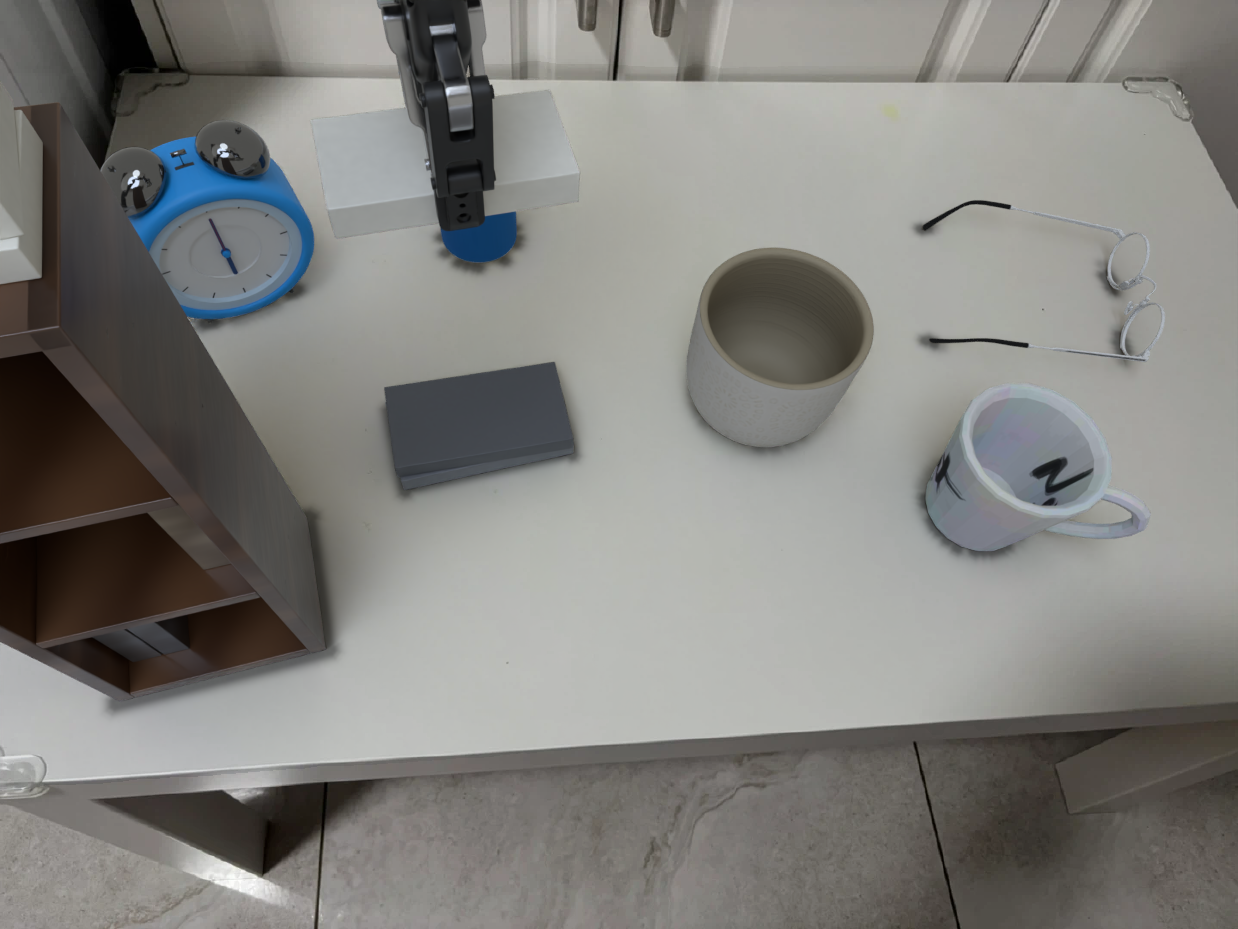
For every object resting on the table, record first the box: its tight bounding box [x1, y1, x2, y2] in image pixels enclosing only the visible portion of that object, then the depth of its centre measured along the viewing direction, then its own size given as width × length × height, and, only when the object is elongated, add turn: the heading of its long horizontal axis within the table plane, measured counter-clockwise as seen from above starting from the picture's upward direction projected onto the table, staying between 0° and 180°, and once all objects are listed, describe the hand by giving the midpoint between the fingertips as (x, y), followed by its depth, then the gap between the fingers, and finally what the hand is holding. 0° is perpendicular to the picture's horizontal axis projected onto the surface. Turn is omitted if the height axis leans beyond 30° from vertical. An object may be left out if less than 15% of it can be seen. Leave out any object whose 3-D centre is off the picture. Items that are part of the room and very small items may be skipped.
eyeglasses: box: [922, 199, 1166, 363], centre depth 75 cm, size 16×19×5 cm
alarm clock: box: [99, 119, 315, 324], centre depth 64 cm, size 13×6×15 cm, turn 120°
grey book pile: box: [383, 361, 575, 491], centre depth 65 cm, size 13×8×3 cm, turn 106°
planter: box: [685, 247, 875, 448], centre depth 65 cm, size 12×12×11 cm
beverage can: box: [439, 211, 518, 264], centre depth 70 cm, size 6×6×12 cm
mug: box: [925, 382, 1152, 552], centre depth 62 cm, size 10×15×10 cm
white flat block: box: [310, 89, 581, 240], centre depth 42 cm, size 12×6×2 cm, turn 106°
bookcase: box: [0, 101, 327, 702], centre depth 43 cm, size 13×10×36 cm
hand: (448, 174), depth 43 cm, fingers closed on white flat block, 6 cm apart
